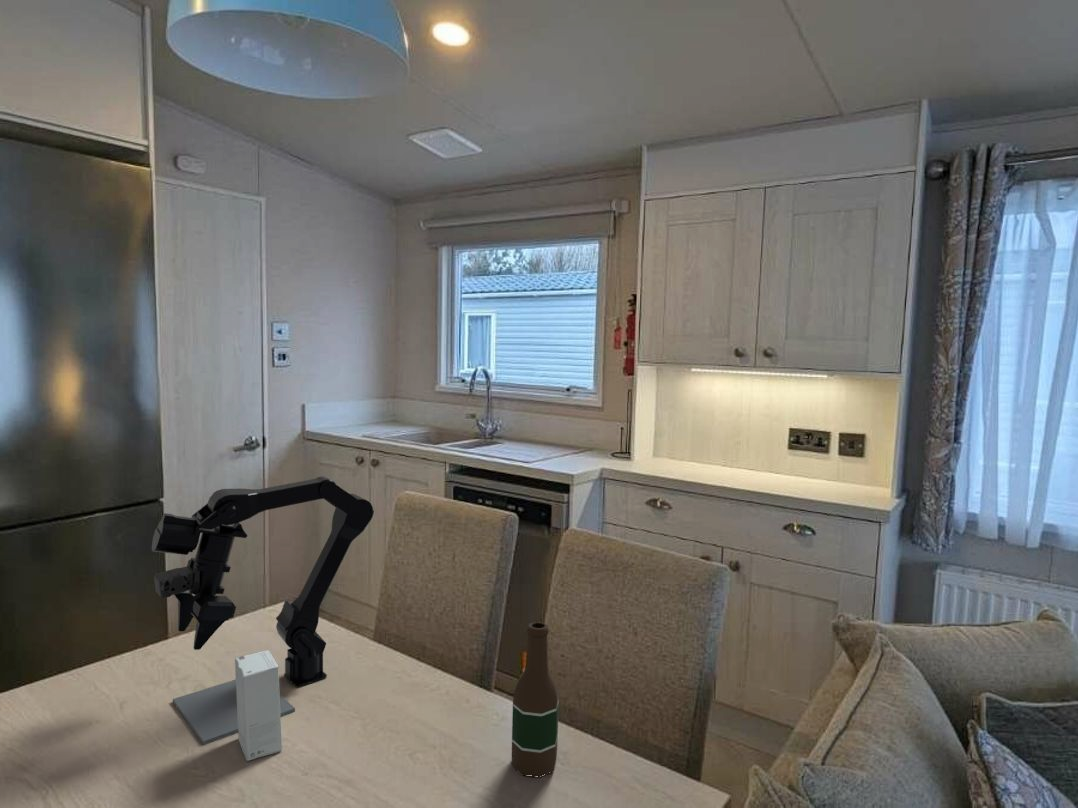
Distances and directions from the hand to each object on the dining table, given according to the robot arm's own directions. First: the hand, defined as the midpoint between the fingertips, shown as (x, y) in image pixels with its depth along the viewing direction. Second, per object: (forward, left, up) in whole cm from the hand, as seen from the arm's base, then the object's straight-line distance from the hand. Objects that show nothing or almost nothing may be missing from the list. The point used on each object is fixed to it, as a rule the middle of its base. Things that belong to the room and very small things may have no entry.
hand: (188, 640), depth 125 cm
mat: (-6, +5, -13) cm, 15 cm away
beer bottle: (-37, +55, -13) cm, 67 cm away
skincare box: (-5, +20, -13) cm, 24 cm away
